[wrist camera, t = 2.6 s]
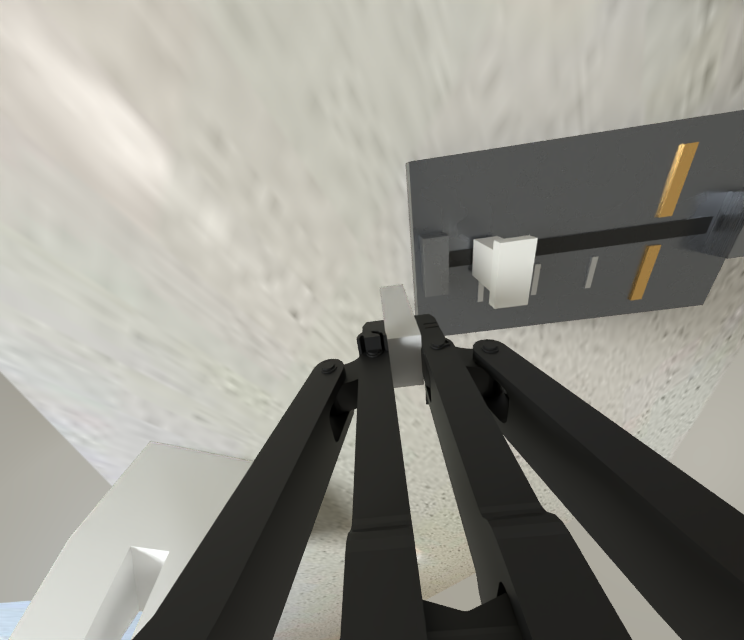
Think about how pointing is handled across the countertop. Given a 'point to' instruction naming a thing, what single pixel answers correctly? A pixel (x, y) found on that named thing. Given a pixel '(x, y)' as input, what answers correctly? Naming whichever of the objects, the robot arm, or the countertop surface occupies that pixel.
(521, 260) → the fader
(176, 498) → the white toy house
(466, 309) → the console
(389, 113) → the countertop surface
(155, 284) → the countertop surface
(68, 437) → the countertop surface
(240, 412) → the countertop surface
